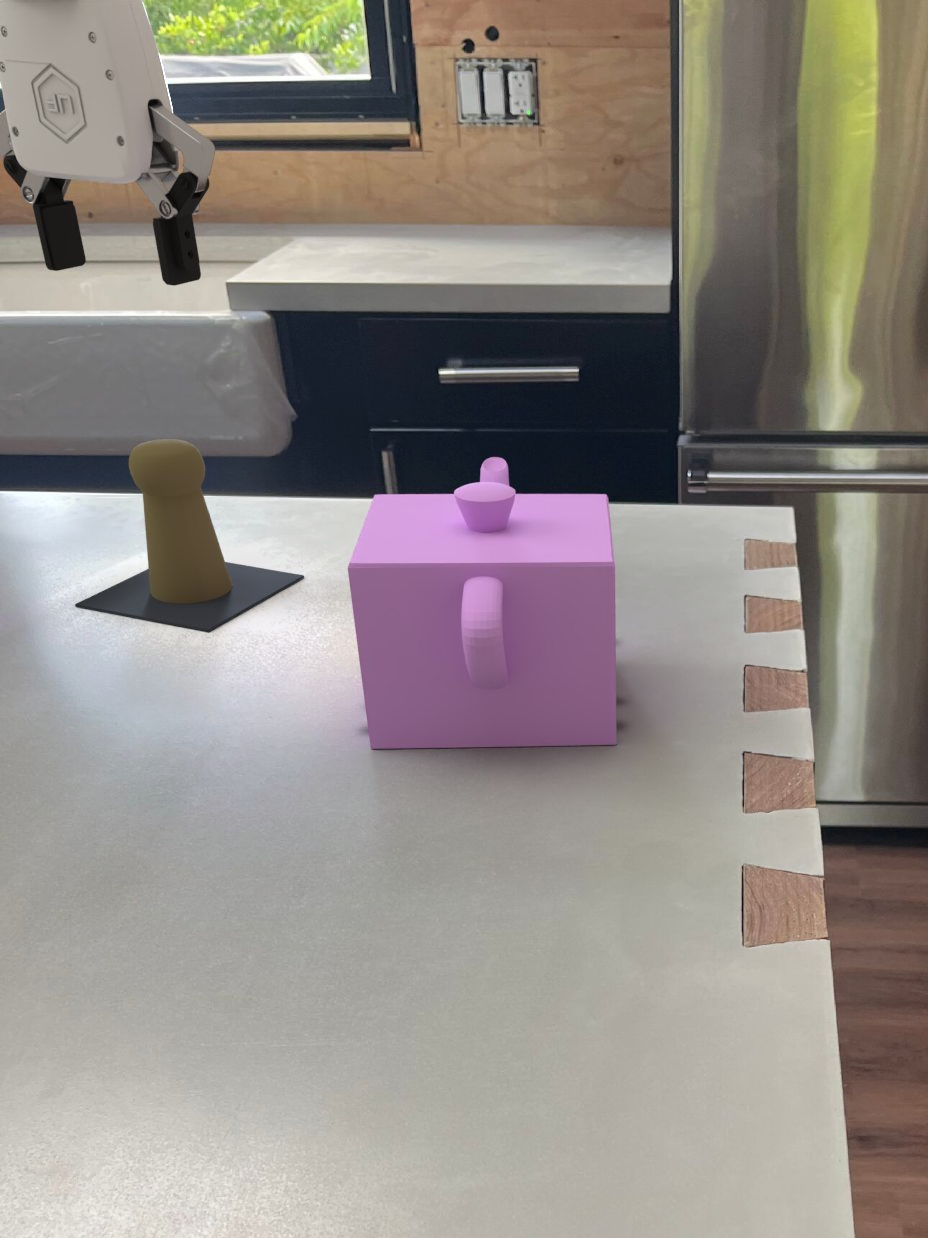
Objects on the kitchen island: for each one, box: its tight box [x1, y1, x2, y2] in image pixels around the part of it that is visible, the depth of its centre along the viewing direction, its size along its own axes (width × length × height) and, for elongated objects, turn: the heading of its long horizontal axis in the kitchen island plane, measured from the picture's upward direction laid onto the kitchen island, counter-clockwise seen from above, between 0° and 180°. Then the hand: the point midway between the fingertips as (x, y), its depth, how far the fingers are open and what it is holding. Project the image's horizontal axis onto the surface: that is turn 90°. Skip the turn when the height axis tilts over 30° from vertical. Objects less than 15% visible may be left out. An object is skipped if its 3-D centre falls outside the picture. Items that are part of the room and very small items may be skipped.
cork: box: [128, 438, 233, 604], centre depth 98 cm, size 6×6×11 cm
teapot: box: [347, 456, 618, 750], centre depth 84 cm, size 15×25×14 cm, turn 5°
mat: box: [74, 561, 305, 633], centre depth 101 cm, size 12×12×1 cm
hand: (124, 275), depth 90 cm, fingers open, 9 cm apart
